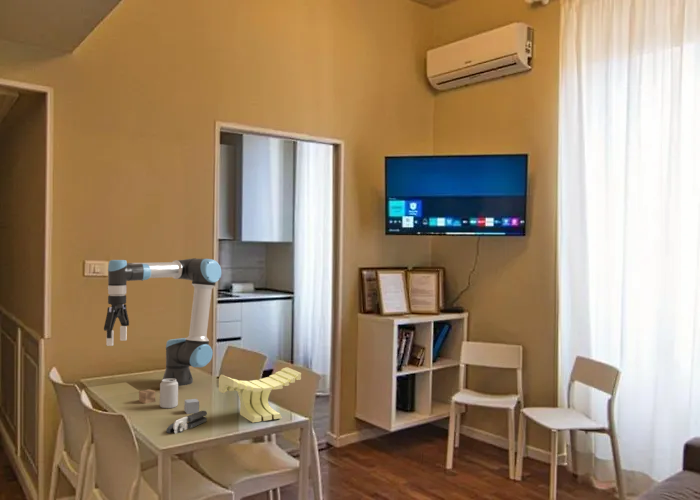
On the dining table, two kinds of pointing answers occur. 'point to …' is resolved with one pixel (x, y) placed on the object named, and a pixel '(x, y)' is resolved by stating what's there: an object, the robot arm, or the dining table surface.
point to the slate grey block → (191, 406)
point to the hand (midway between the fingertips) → (116, 343)
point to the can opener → (192, 422)
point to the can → (168, 393)
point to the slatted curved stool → (258, 393)
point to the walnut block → (147, 396)
